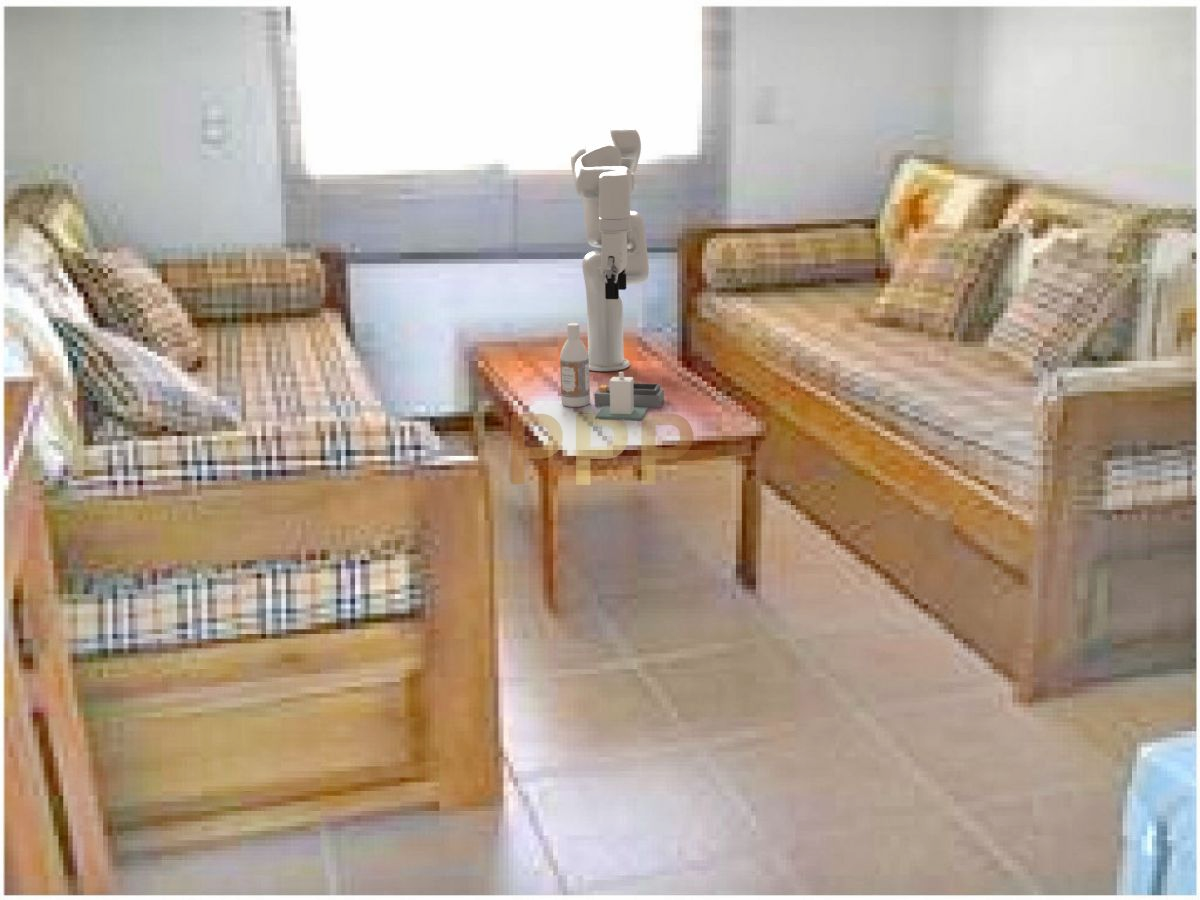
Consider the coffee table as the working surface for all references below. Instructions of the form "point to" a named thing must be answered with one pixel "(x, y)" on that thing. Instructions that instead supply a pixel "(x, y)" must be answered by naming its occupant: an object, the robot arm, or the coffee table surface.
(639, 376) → the coffee table surface
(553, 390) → the coffee table surface
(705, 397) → the coffee table surface
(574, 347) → the bath foam
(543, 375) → the coffee table surface
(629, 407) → the block
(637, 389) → the power strip
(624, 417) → the mat
